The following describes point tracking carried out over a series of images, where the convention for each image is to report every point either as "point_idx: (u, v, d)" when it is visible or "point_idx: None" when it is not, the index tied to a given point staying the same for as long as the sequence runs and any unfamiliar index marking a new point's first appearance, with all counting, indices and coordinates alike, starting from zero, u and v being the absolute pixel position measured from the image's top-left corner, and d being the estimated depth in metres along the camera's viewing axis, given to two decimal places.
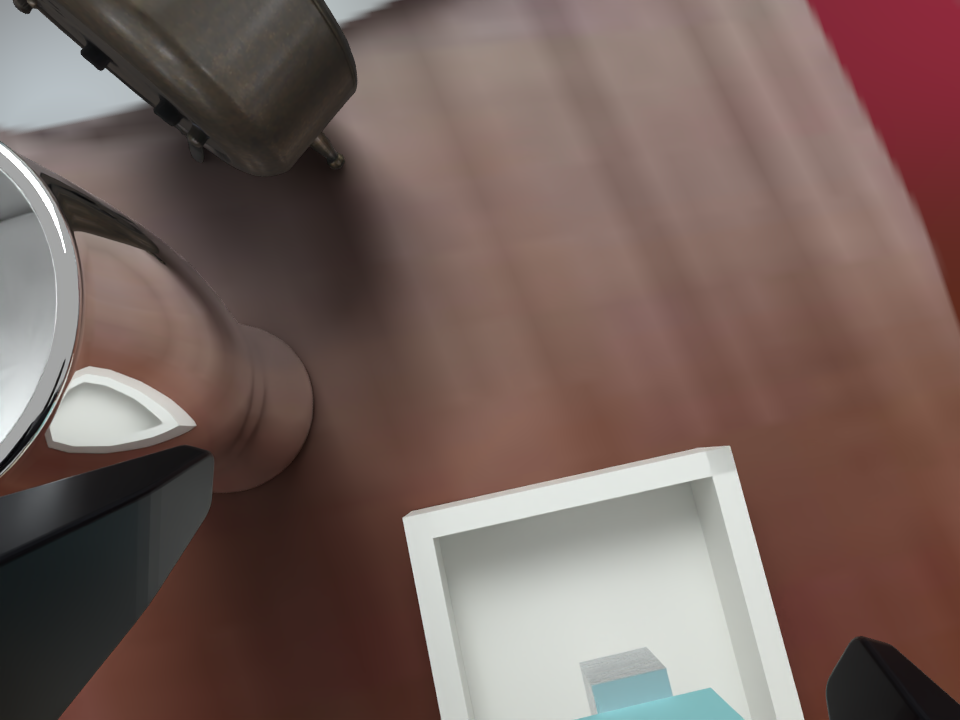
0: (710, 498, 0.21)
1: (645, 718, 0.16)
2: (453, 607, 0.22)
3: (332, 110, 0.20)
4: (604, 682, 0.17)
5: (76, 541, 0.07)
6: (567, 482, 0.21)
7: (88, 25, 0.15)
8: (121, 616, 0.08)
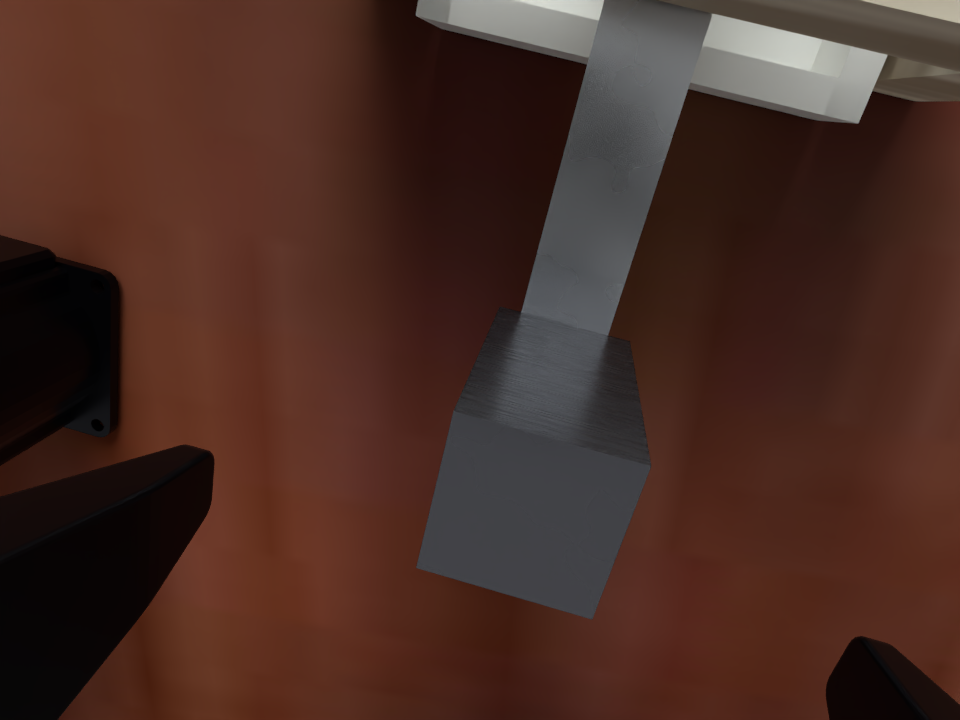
0: None
1: None
2: None
3: None
4: None
5: (76, 541, 0.07)
6: None
7: None
8: (121, 616, 0.08)
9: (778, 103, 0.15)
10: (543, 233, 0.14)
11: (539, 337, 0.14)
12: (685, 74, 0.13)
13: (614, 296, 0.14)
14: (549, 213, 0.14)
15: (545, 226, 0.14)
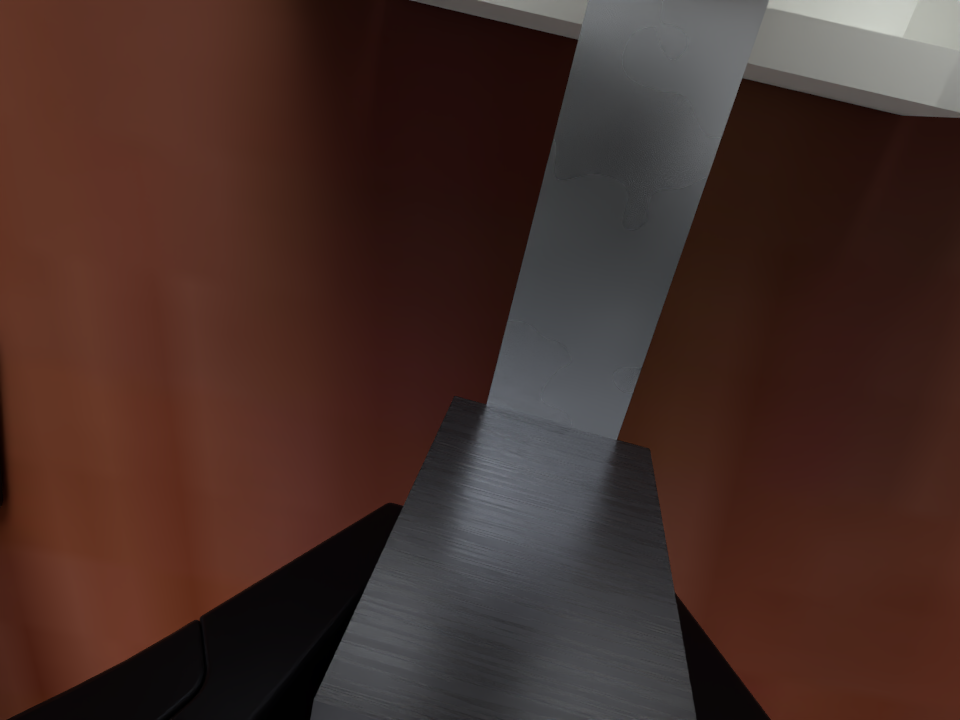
0: None
1: None
2: None
3: None
4: None
5: (349, 622, 0.07)
6: None
7: None
8: None
9: (866, 89, 0.10)
10: (517, 290, 0.09)
11: (510, 457, 0.09)
12: (743, 39, 0.08)
13: (626, 384, 0.09)
14: (525, 260, 0.09)
15: (520, 279, 0.09)
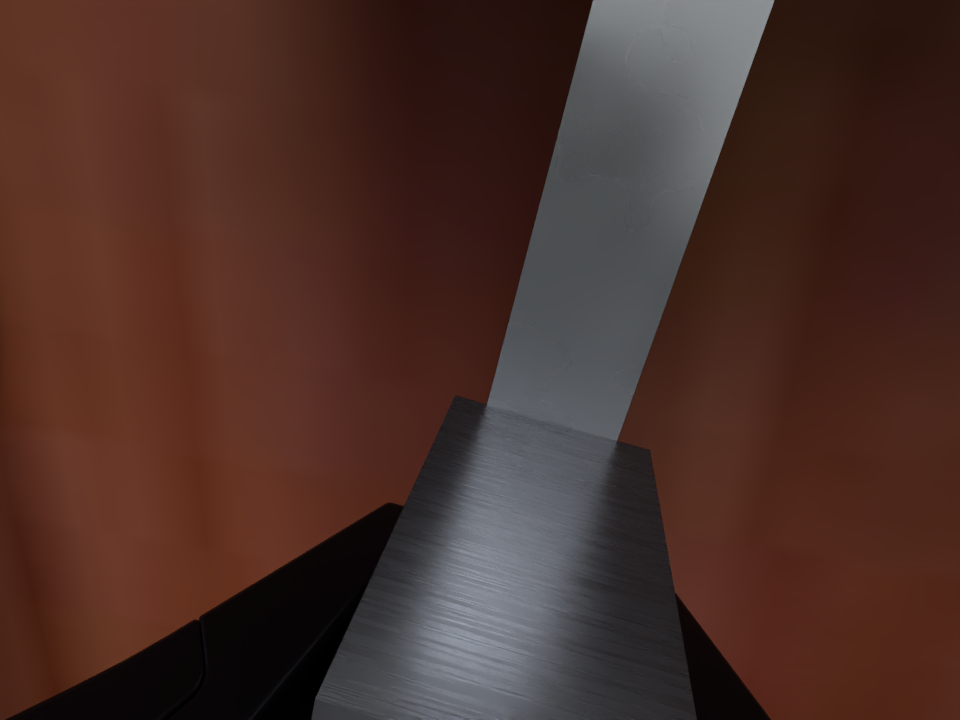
0: None
1: None
2: None
3: None
4: None
5: (349, 622, 0.07)
6: None
7: None
8: None
9: None
10: (518, 291, 0.09)
11: (511, 457, 0.09)
12: (747, 41, 0.08)
13: (627, 385, 0.09)
14: (527, 260, 0.09)
15: (522, 280, 0.09)
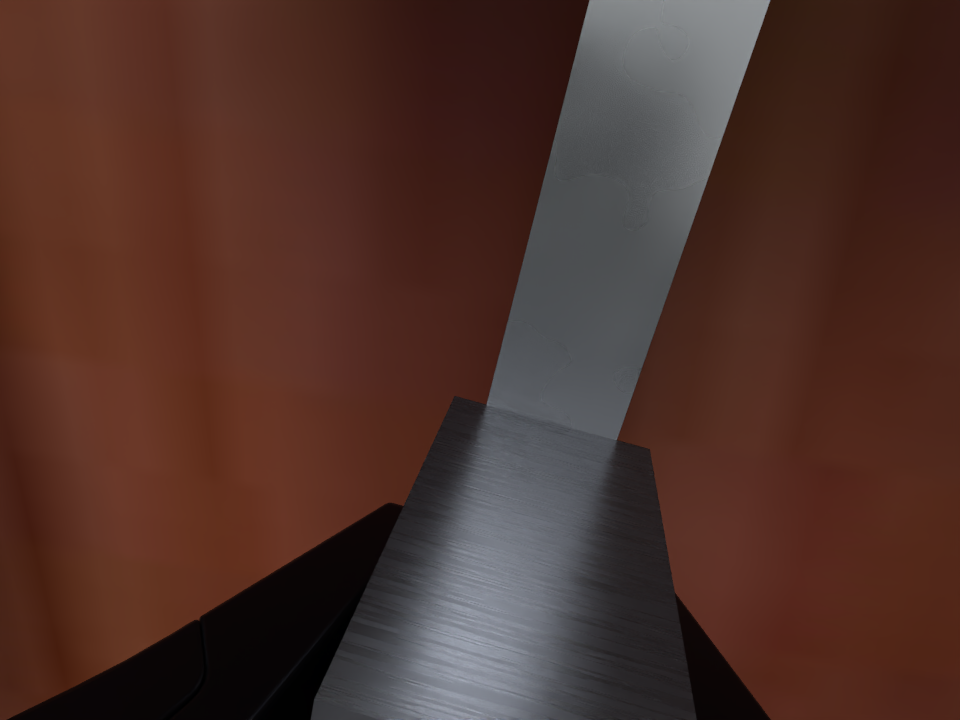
0: None
1: None
2: None
3: None
4: None
5: (349, 622, 0.07)
6: None
7: None
8: None
9: None
10: (517, 290, 0.09)
11: (510, 457, 0.09)
12: (744, 40, 0.08)
13: (626, 384, 0.09)
14: (526, 260, 0.09)
15: (520, 280, 0.09)
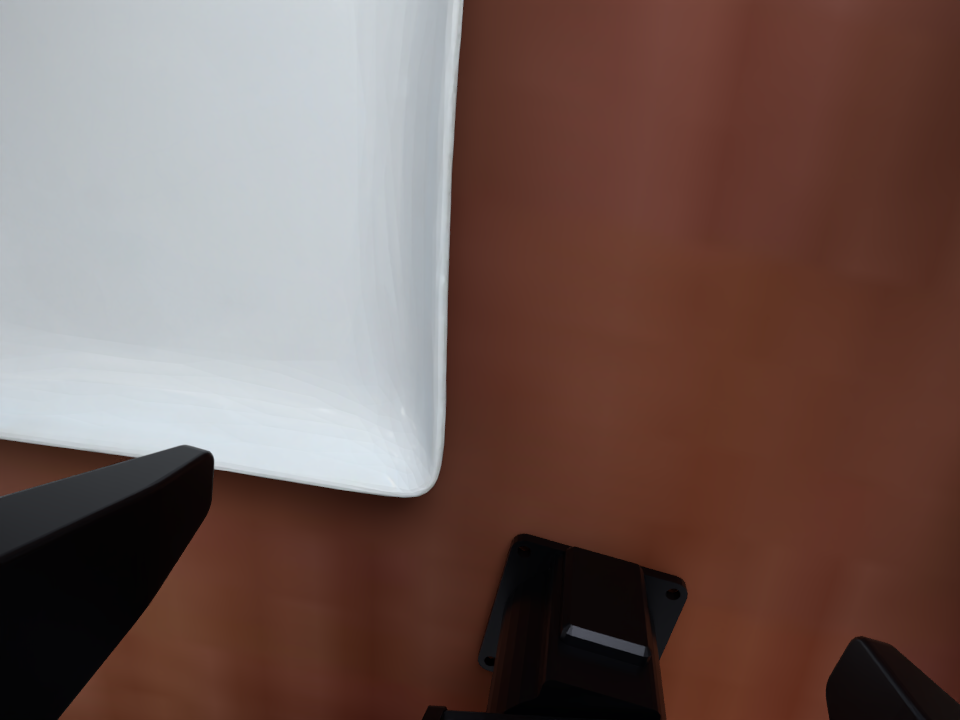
0: None
1: None
2: None
3: None
4: None
5: (76, 541, 0.07)
6: None
7: None
8: (121, 615, 0.08)
9: None
10: None
11: None
12: None
13: None
14: None
15: None
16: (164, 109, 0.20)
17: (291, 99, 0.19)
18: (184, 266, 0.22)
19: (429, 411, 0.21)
